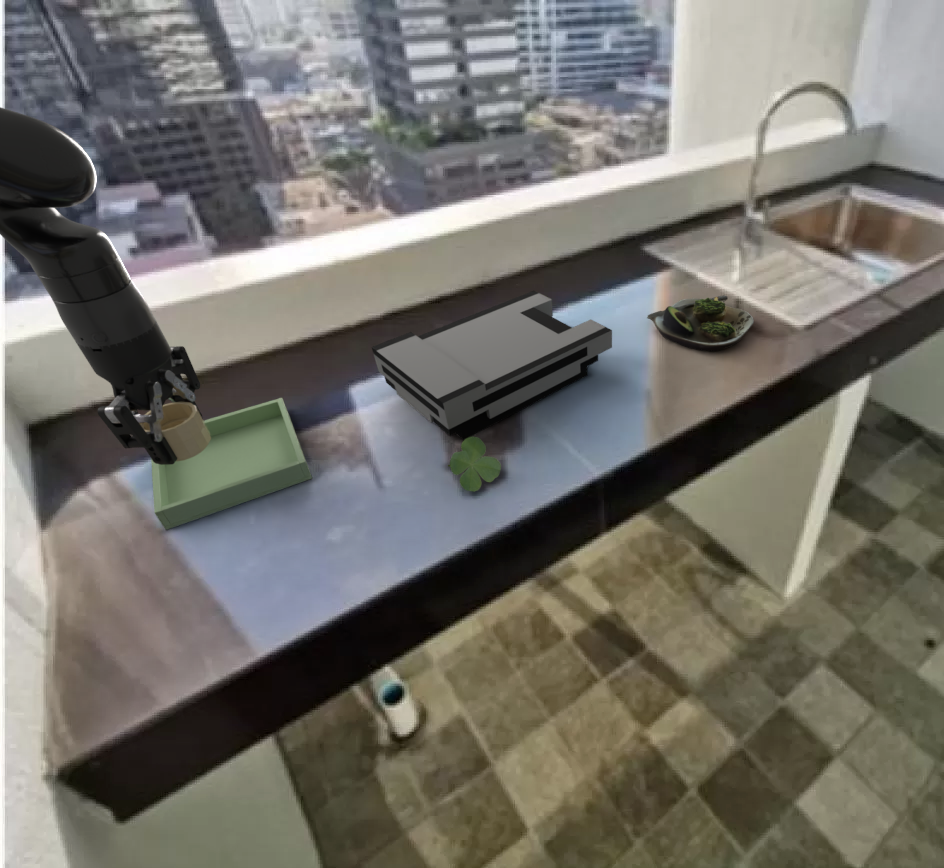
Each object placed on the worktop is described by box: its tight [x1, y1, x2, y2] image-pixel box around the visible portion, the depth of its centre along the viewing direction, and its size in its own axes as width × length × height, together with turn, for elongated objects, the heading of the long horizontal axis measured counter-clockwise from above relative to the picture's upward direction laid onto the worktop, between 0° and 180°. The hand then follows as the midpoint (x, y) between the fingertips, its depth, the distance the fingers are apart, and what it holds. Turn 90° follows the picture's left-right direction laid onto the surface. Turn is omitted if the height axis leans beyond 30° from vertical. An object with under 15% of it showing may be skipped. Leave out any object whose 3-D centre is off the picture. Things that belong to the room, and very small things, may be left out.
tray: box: [150, 397, 313, 531], centre depth 84 cm, size 18×18×3 cm
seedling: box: [447, 436, 502, 492], centre depth 82 cm, size 7×8×7 cm
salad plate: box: [646, 295, 754, 352], centre depth 114 cm, size 19×18×5 cm
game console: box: [371, 290, 613, 441], centre depth 99 cm, size 21×32×8 cm, turn 133°
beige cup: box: [144, 401, 211, 461], centre depth 75 cm, size 6×6×5 cm
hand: (182, 443), depth 76 cm, fingers closed on beige cup, 6 cm apart
